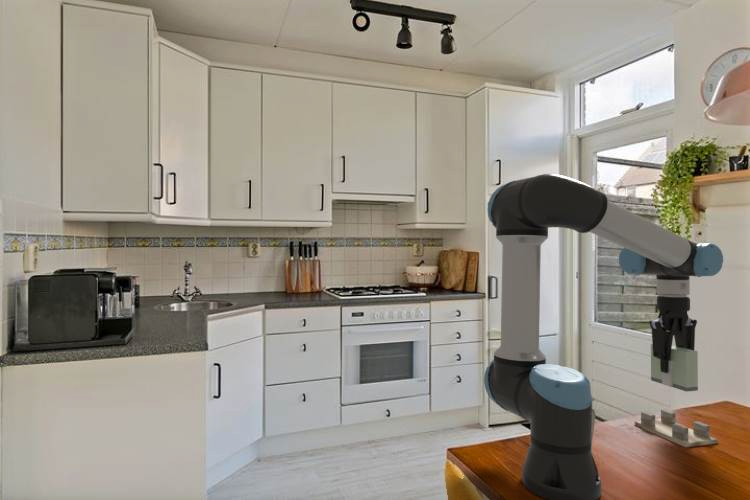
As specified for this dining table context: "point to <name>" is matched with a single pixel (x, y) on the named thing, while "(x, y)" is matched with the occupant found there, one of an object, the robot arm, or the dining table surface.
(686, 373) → the door panel
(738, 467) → the dining table surface
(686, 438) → the hinge bracket
